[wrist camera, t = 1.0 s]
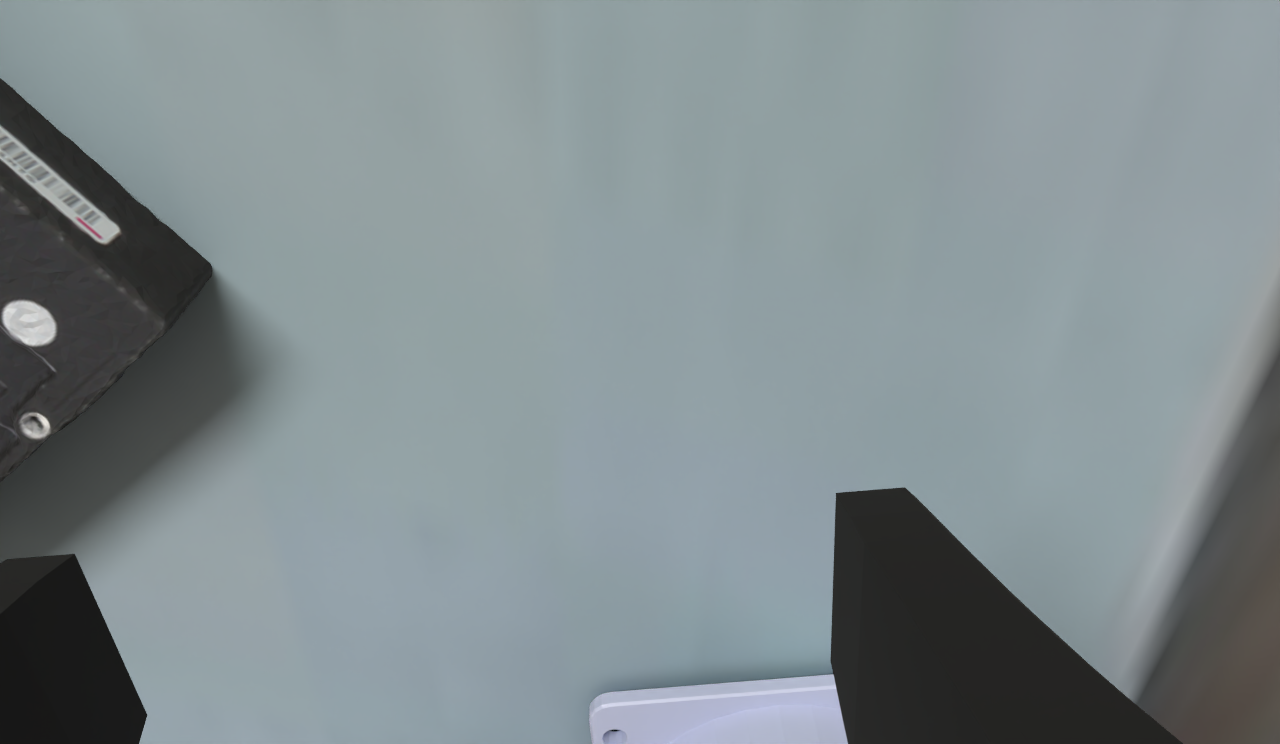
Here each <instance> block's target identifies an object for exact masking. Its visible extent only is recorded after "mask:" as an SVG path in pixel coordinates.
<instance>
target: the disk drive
mask: <svg viewBox="0 0 1280 744" xmlns="http://www.w3.org/2000/svg"><path fill="white" fill-rule="evenodd" d="M211 275H212V266H211V264H210V263H209V262H208V261H207V260H206V259H204V258H203V257H202V256H201V255H200V254H199V253H198V252H197V251H196V250H194V249H193V248H192V247H190V246H189V245H188V244H187V243H186V242H185V241H184V240H183V239H182V238H181V237H179V236H178V235H177V234H176V233H175V232H174V231H173V230H172V229H171V228H169V227H168V226H167V225H165V224H164V223H162V222H161V221H159V220H158V219H157V218H156V217H155V216H154V215H153V214H152V213H151V212H150V211H149V210H148V209H147V208H146V207H144V206H143V205H141V204H140V203H138V202H137V201H136V200H135V199H134V198H133V197H132V196H131V195H129V194H128V193H127V192H126V191H125V190H124V189H123V187H122V186H121V185H120V184H119V183H118V182H117V181H116V180H115V179H114V178H113V177H112V176H111V175H110V174H108V173H107V172H106V171H105V170H104V169H103V168H102V167H101V166H100V165H99V164H97V163H96V162H95V161H94V160H93V159H91V158H90V157H89V156H88V155H86V154H85V153H84V152H83V151H82V150H81V149H80V148H79V147H78V146H77V145H76V144H75V143H74V142H73V141H72V140H70V139H69V138H67V137H66V136H65V135H63V134H62V133H61V132H60V131H59V130H58V129H56V128H55V127H54V126H53V125H52V124H51V123H50V122H49V121H48V120H46V119H45V118H44V117H43V116H42V115H41V114H40V113H39V112H38V111H37V110H36V109H34V108H33V107H32V106H31V105H30V104H28V103H27V102H26V101H25V100H24V99H23V98H22V97H21V96H20V95H19V94H18V93H17V92H16V91H15V90H14V89H13V88H11V87H10V86H9V85H8V84H7V83H5V82H4V81H3V80H2V79H0V482H1V481H2V480H3V479H4V478H5V477H6V476H7V475H9V474H10V473H11V472H13V471H14V470H15V469H16V468H17V467H18V466H19V465H20V464H21V463H22V462H23V461H24V460H25V459H27V458H28V457H29V456H30V455H31V454H32V453H33V452H34V451H36V450H37V449H38V448H39V447H40V446H41V445H42V444H43V442H45V441H46V440H47V439H48V438H49V437H50V436H51V435H53V434H54V433H56V432H58V431H60V430H61V429H63V428H64V427H65V426H66V425H68V424H69V423H70V422H72V421H73V420H75V419H76V418H77V417H78V416H79V415H80V414H81V413H83V412H84V411H86V410H87V409H88V408H89V407H90V406H91V405H92V404H93V403H95V402H96V401H97V400H98V399H99V398H100V397H101V396H102V395H103V394H104V393H105V392H106V391H107V390H108V389H109V388H110V387H111V386H112V385H113V384H114V383H115V382H117V381H118V380H119V379H120V378H121V377H122V375H123V373H124V371H125V370H126V369H127V368H128V367H129V366H130V365H131V364H132V363H133V362H134V361H136V360H137V359H138V358H140V357H141V356H142V354H143V353H144V352H145V351H146V349H147V348H149V347H150V346H152V345H153V344H154V343H155V341H156V340H158V339H159V338H160V337H161V336H163V335H164V334H165V333H166V332H167V331H168V330H169V329H170V328H171V327H172V326H173V324H174V323H175V322H176V320H177V319H178V318H179V316H180V315H181V314H182V313H183V312H184V311H185V309H186V307H187V306H188V305H189V304H190V303H191V301H192V300H193V299H194V298H195V297H196V296H197V295H198V293H199V292H200V290H201V289H202V287H203V286H204V285H205V283H206V282H207V281H208V280H209V278H210V277H211Z"/></svg>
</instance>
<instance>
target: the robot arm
mask: <svg viewBox="0 0 1280 744" xmlns="http://www.w3.org/2000/svg"><path fill="white" fill-rule="evenodd" d="M831 664H832V669H833V674H830V675H818V676H805V677H793V678H780V679H767V680H755V681H742V682H730V683H717V684H704V685H692V686H679V687H667V688H654V689H642V690H629V691H616V692H608V693H604V694H601V695H599V696H598V697H596V698H594V700H593V701H592V702H591V704H590V708H589V724H590V732H591V739H592V744H1183V743H1182V742H1180V741H1179V740H1178V739H1177V738H1176V737H1174V736H1173V735H1172V734H1171V733H1170V732H1168V731H1167V730H1166V729H1165V728H1164V727H1162V726H1161V725H1160V724H1159V723H1158V722H1156V721H1155V720H1154V719H1153V718H1151V717H1150V716H1149V715H1148V714H1147V713H1145V712H1144V711H1143V710H1142V709H1141V708H1139V707H1138V706H1137V705H1136V704H1135V703H1133V702H1132V701H1131V700H1130V699H1129V698H1127V697H1126V696H1125V695H1124V694H1123V693H1122V692H1120V691H1119V690H1118V689H1117V688H1116V687H1115V686H1113V685H1112V684H1111V683H1110V682H1109V681H1108V680H1107V679H1105V678H1104V677H1103V676H1102V675H1101V674H1100V673H1099V672H1097V671H1096V670H1095V669H1094V668H1093V667H1092V666H1090V665H1089V664H1088V663H1087V662H1086V661H1085V660H1084V659H1083V658H1082V657H1081V656H1079V655H1078V654H1077V653H1076V652H1075V651H1074V650H1073V649H1072V648H1071V647H1070V646H1069V645H1067V644H1066V643H1065V642H1064V641H1063V640H1062V639H1061V638H1060V637H1059V636H1058V635H1056V634H1055V633H1054V632H1053V631H1052V630H1051V629H1050V628H1049V627H1048V626H1047V625H1046V624H1044V623H1043V622H1042V621H1041V620H1040V619H1039V618H1038V617H1037V616H1036V615H1035V614H1033V613H1032V612H1031V611H1030V610H1029V609H1028V608H1027V607H1026V606H1025V605H1024V604H1023V603H1022V602H1021V601H1020V600H1019V599H1018V598H1017V597H1015V596H1014V595H1013V594H1012V593H1011V592H1010V591H1009V590H1008V589H1007V588H1006V587H1005V586H1004V585H1003V584H1002V583H1001V582H1000V581H999V580H998V579H997V578H996V577H995V576H994V575H993V574H992V573H991V572H990V571H989V570H988V569H987V568H986V567H985V566H984V565H983V564H982V563H981V562H980V561H979V560H978V559H976V558H975V557H974V556H973V555H972V554H971V553H970V552H969V551H968V550H967V549H966V548H965V547H964V546H963V545H962V544H961V543H960V542H959V541H958V540H957V538H956V537H955V536H954V535H953V534H952V533H951V532H950V531H949V530H948V529H947V528H946V527H945V526H944V525H943V524H942V523H941V522H940V521H939V520H938V519H937V518H936V517H935V516H934V515H933V514H932V513H931V512H930V511H929V510H928V509H927V508H926V507H925V506H924V505H923V504H922V503H921V502H920V501H919V500H918V499H917V498H916V497H915V496H914V495H913V494H911V493H910V492H909V491H908V490H907V489H906V488H893V489H881V490H868V491H856V492H843V493H836V513H835V544H834V575H833V606H832V637H831ZM146 717H147V714H146V711H145V709H144V707H143V705H142V702H141V700H140V698H139V696H138V694H137V691H136V689H135V687H134V685H133V682H132V680H131V678H130V676H129V674H128V671H127V669H126V667H125V665H124V662H123V660H122V658H121V656H120V654H119V651H118V649H117V647H116V645H115V642H114V640H113V638H112V636H111V634H110V631H109V629H108V627H107V625H106V622H105V620H104V618H103V616H102V614H101V611H100V609H99V607H98V605H97V602H96V600H95V598H94V596H93V594H92V591H91V589H90V587H89V585H88V582H87V580H86V578H85V576H84V574H83V571H82V569H81V567H80V565H79V563H78V560H77V558H76V556H75V554H68V555H56V556H43V557H31V558H18V559H7V560H5V561H4V562H2V563H0V744H139V741H140V738H141V735H142V731H143V728H144V724H145V721H146ZM613 729H617V730H619V731H616V732H615V731H609V730H613Z"/></svg>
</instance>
